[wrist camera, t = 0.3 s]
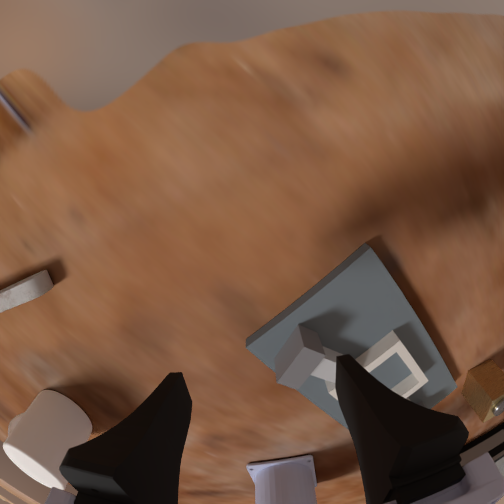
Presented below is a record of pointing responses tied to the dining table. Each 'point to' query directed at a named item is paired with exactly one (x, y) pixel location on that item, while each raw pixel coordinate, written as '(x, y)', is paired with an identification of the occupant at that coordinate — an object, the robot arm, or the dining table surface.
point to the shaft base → (353, 337)
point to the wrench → (25, 290)
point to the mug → (46, 436)
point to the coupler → (485, 390)
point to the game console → (486, 448)
